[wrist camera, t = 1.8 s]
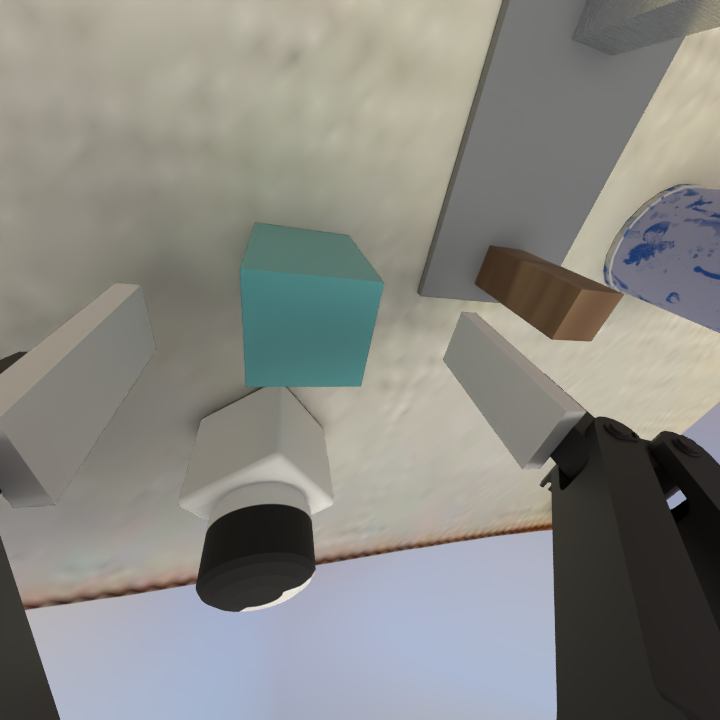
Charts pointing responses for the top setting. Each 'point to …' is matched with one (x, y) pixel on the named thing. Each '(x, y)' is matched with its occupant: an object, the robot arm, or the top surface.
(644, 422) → the top surface
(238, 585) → the medicine bottle
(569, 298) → the walnut post
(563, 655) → the robot arm
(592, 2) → the grey post
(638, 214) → the aerosol can
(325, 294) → the teal rectangular block
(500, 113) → the board
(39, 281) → the top surface
